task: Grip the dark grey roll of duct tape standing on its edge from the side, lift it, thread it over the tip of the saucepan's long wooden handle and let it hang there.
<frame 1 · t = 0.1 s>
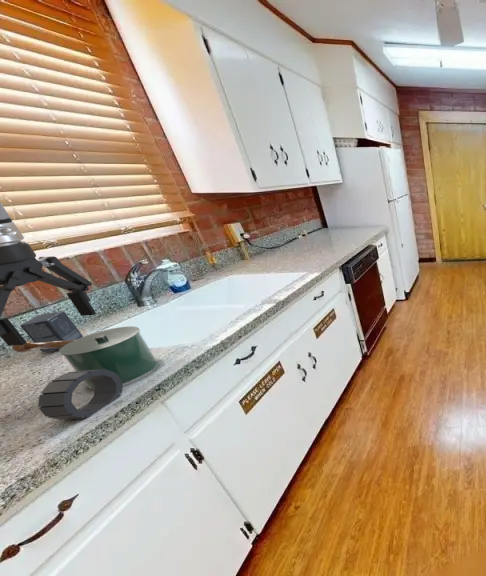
hand: (56, 328, 72), 20 cm above the countertop, tool pointing down, fingers open, 13 cm apart
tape: (96, 410, 73), on the countertop
box: (64, 345, 98), on the countertop
saucepan: (125, 374, 85), on the countertop
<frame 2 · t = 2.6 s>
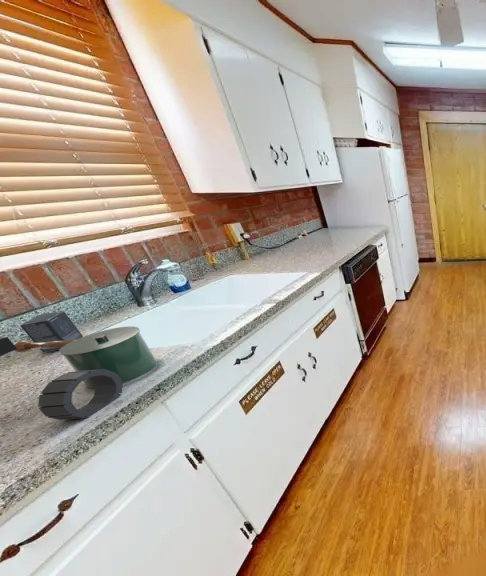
nothing on the countertop moved.
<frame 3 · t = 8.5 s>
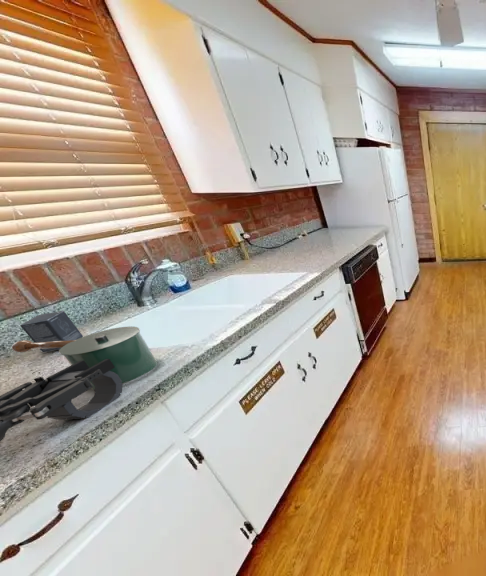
hand: (97, 364, 74), 10 cm above the countertop, tool horizontal, fingers closed on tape, 5 cm apart
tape: (96, 410, 73), on the countertop, touching gripper
everything else where it was.
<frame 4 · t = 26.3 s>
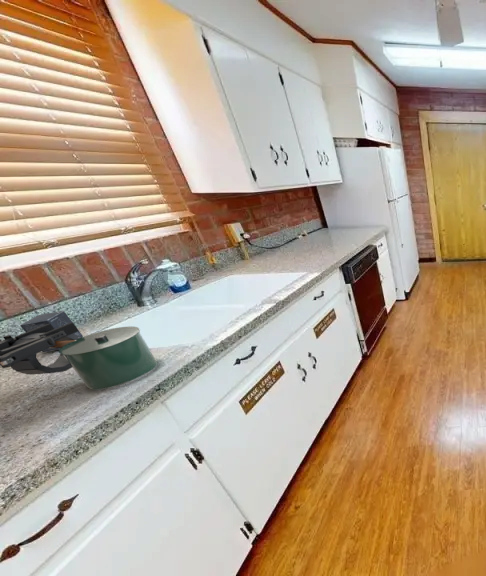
hand: (62, 327, 83), 14 cm above the countertop, tool horizontal, fingers closed on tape, 5 cm apart
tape: (61, 368, 82), point 4 cm above the countertop, touching gripper
everything else where it was.
when the fingers open (17 cm above the countertop, at t = 30.1 s): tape drops 4 cm, resting on saucepan.
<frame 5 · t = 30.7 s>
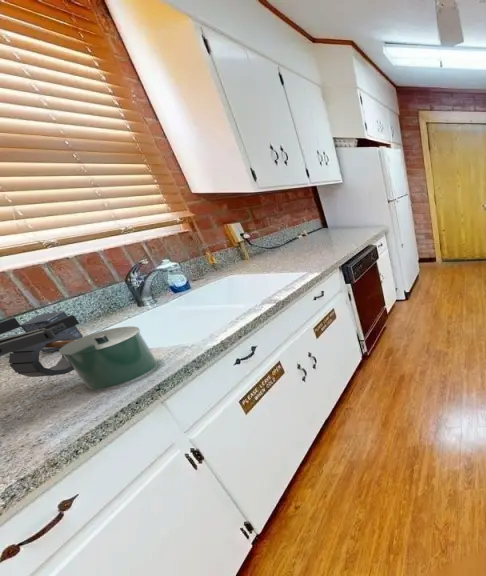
hand: (46, 320, 80), 17 cm above the countertop, tool horizontal, fingers open, 13 cm apart
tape: (63, 370, 83), point 3 cm above the countertop, touching saucepan
everything else where it was.
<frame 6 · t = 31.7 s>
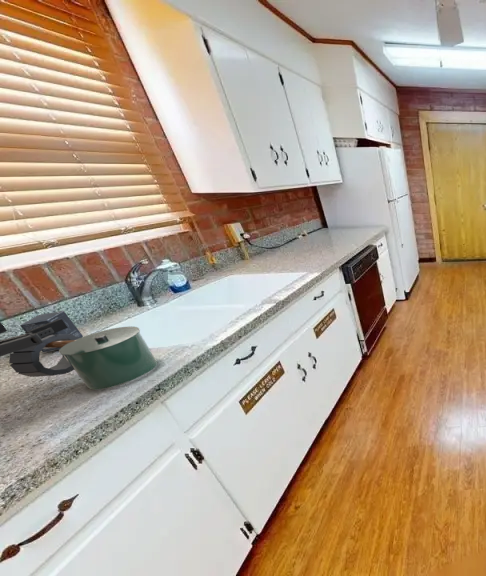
hand: (33, 324, 77), 17 cm above the countertop, tool horizontal, fingers open, 13 cm apart
nothing on the countertop moved.
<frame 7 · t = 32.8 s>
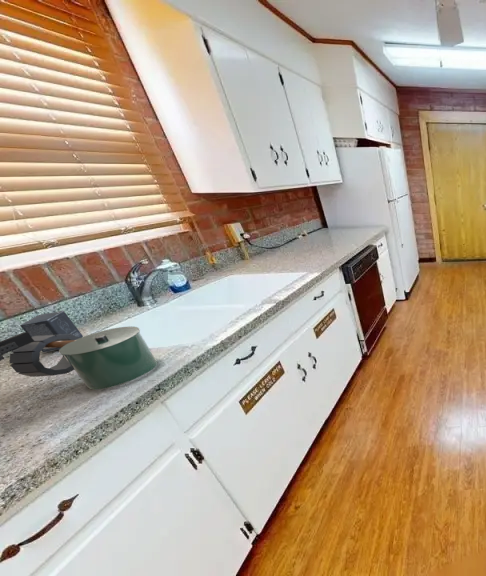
nothing on the countertop moved.
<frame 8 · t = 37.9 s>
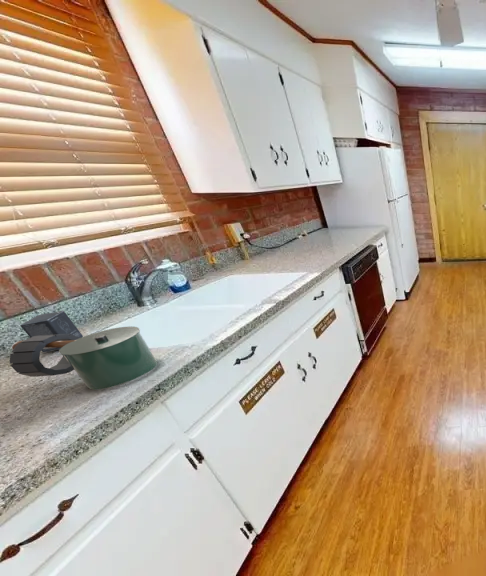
nothing on the countertop moved.
at the end: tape inside the target area on the saucepan (0.5 cm from its centre), point 2.8 cm above the saucepan's base; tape touching saucepan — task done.
